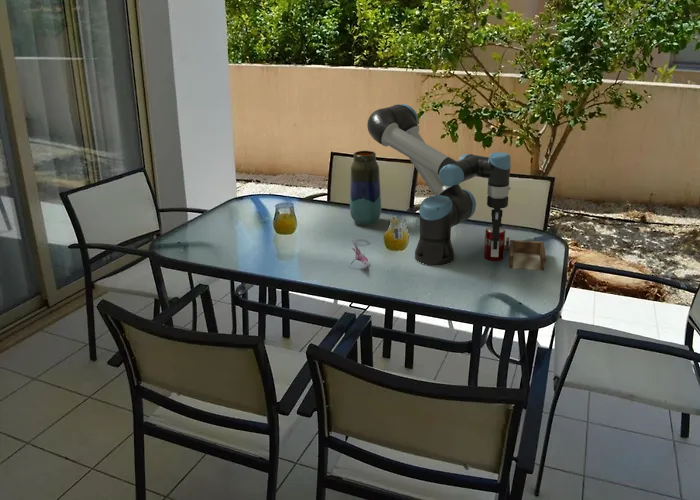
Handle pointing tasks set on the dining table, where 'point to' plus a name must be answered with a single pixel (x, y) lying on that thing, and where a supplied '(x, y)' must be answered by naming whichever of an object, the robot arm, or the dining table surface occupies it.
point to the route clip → (507, 244)
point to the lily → (359, 255)
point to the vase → (365, 188)
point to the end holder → (527, 255)
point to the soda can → (488, 245)
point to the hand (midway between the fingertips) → (494, 249)
